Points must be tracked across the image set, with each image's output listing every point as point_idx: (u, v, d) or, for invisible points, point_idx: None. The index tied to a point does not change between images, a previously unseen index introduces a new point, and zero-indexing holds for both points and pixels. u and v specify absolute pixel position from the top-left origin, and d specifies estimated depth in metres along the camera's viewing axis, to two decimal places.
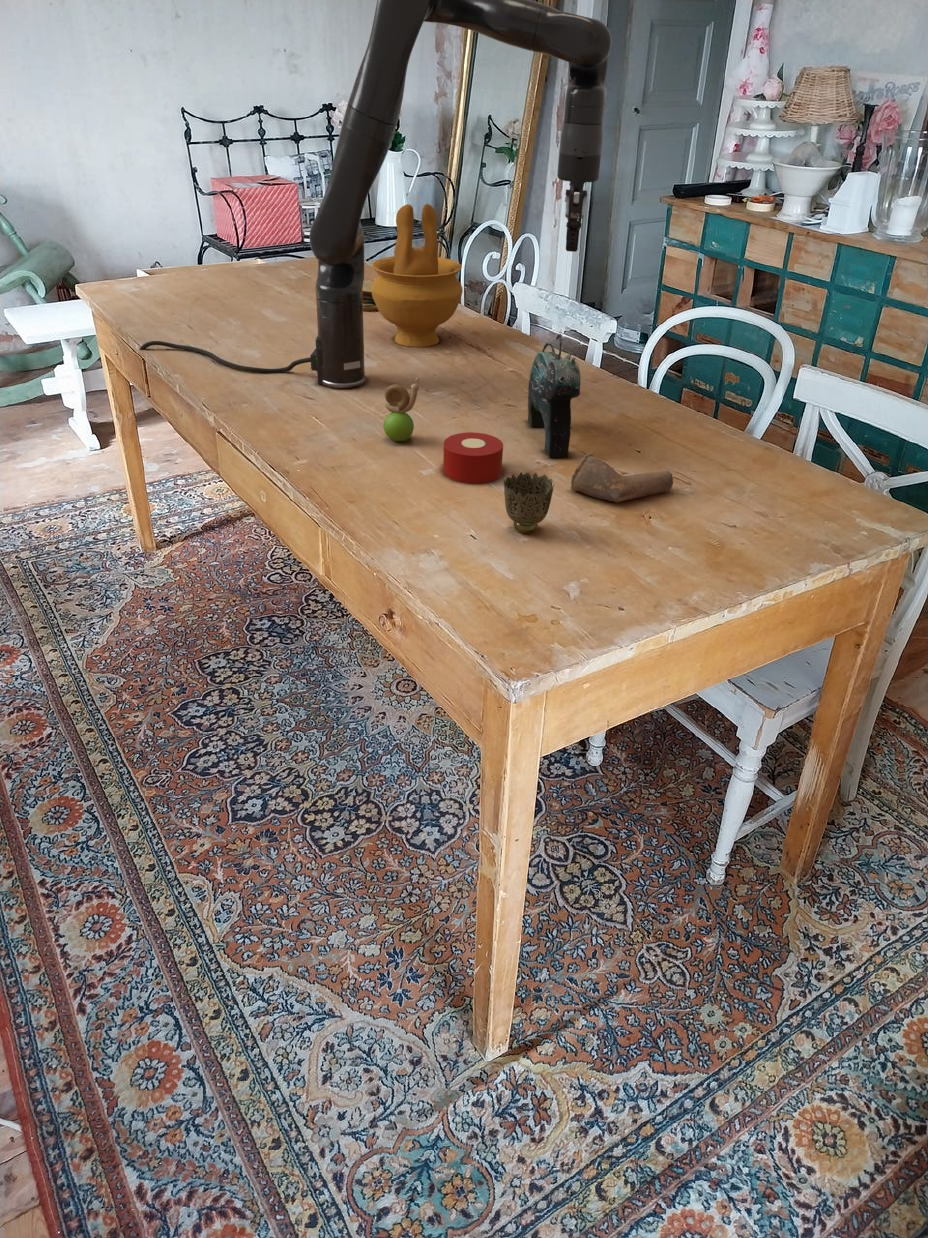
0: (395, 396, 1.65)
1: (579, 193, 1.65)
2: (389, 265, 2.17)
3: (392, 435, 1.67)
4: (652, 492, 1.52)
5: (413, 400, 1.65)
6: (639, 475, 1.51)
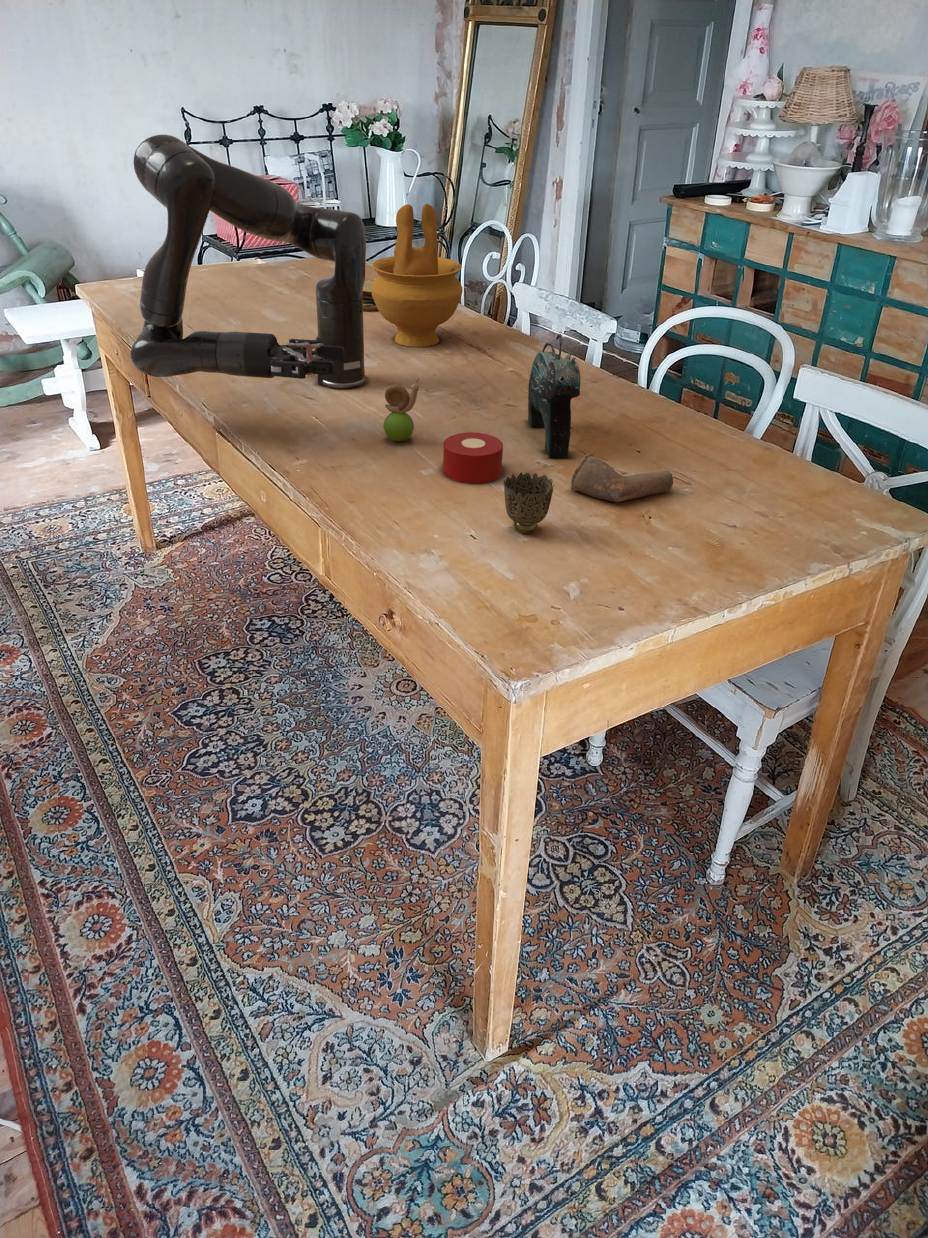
0: (395, 396, 1.65)
1: None
2: (389, 265, 2.17)
3: (392, 435, 1.67)
4: (652, 492, 1.52)
5: (413, 400, 1.65)
6: (639, 475, 1.51)
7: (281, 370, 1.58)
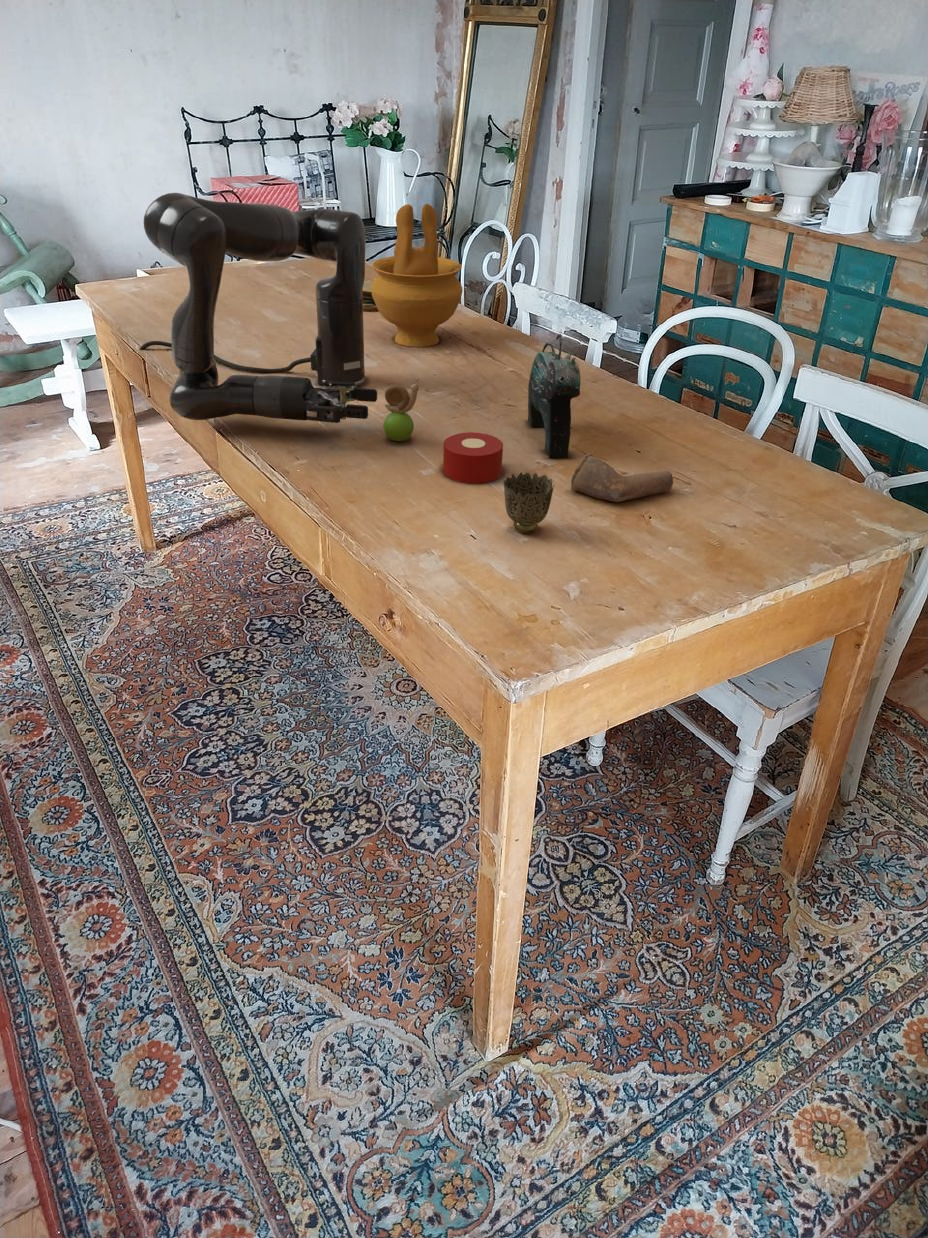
0: (395, 396, 1.65)
1: None
2: (389, 265, 2.17)
3: (392, 435, 1.67)
4: (652, 492, 1.52)
5: (413, 400, 1.65)
6: (639, 475, 1.51)
7: (317, 415, 1.62)
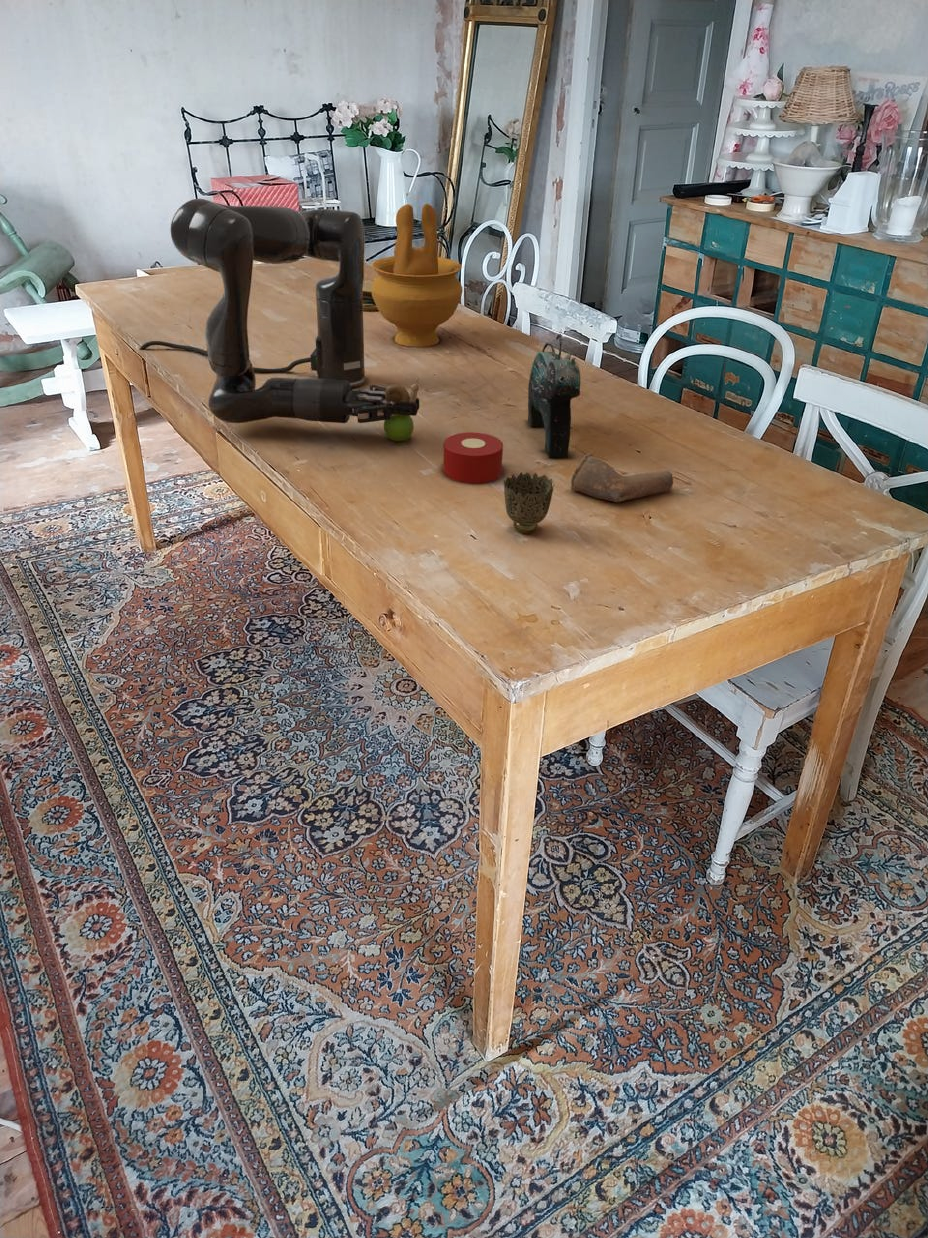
0: (395, 396, 1.65)
1: None
2: (389, 265, 2.17)
3: (392, 435, 1.67)
4: (652, 492, 1.52)
5: (413, 400, 1.65)
6: (639, 475, 1.51)
7: (369, 415, 1.62)
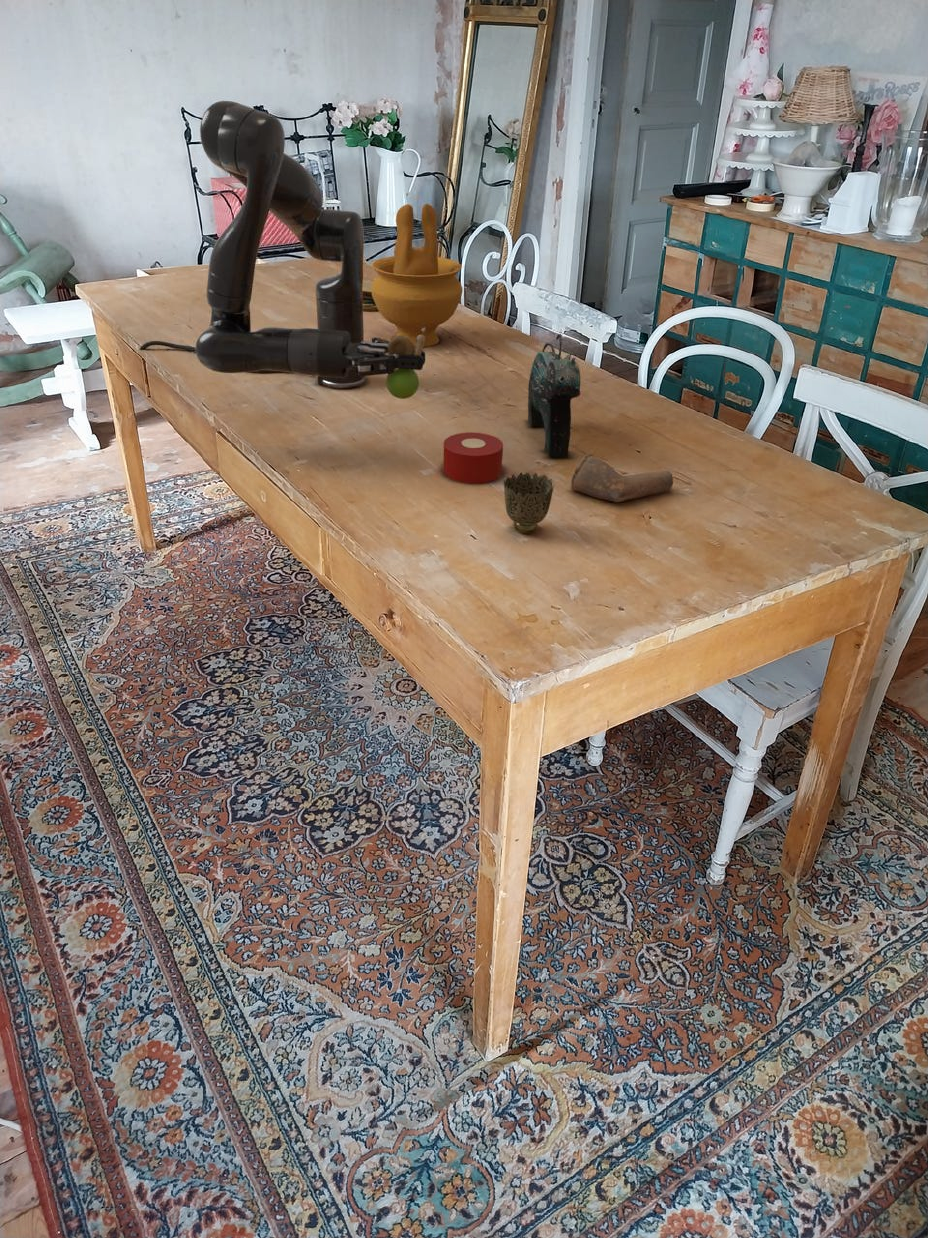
0: (399, 348, 1.52)
1: None
2: (389, 265, 2.17)
3: (395, 391, 1.54)
4: (652, 492, 1.52)
5: (418, 353, 1.52)
6: (639, 475, 1.51)
7: (370, 368, 1.49)
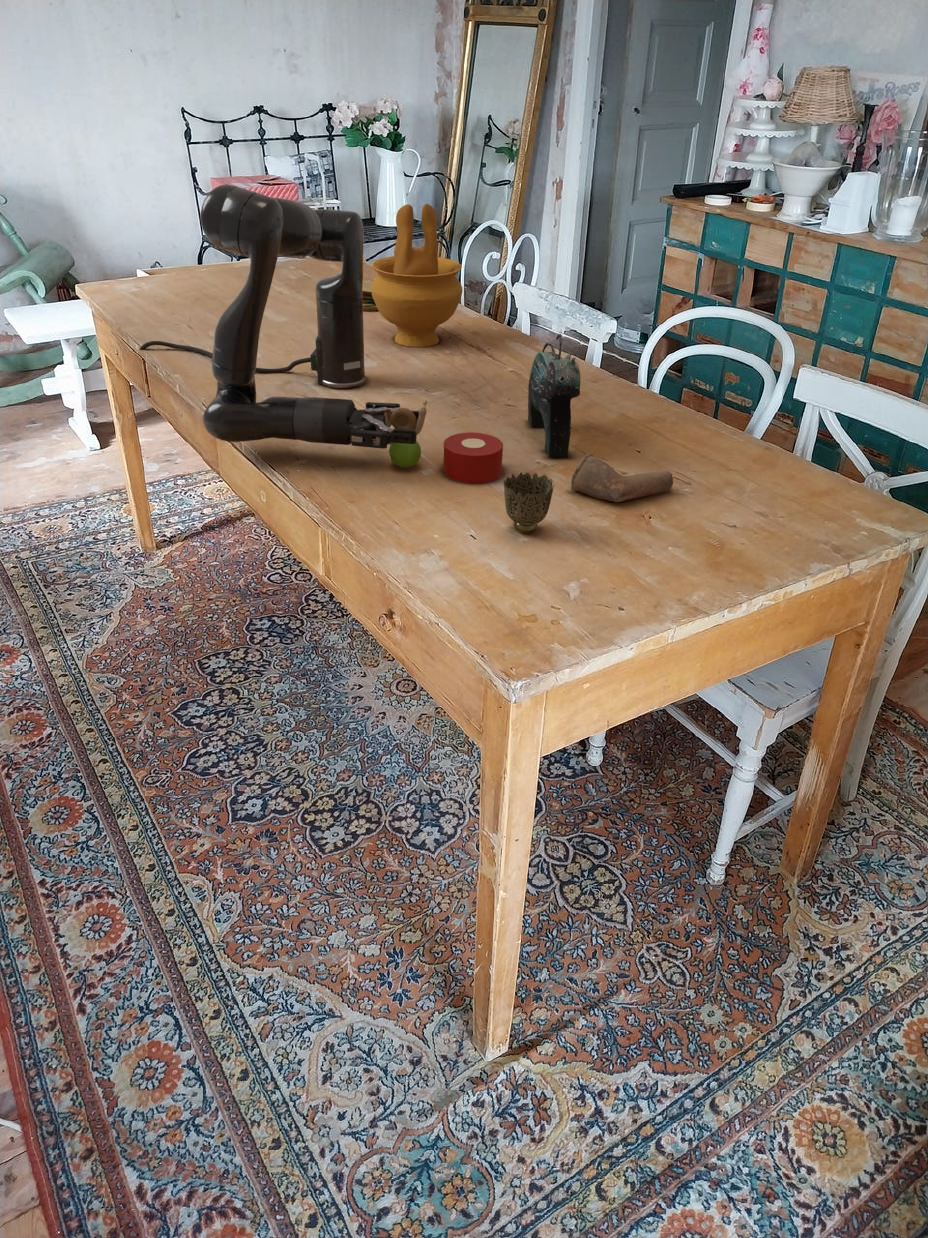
0: (401, 420, 1.56)
1: None
2: (389, 265, 2.17)
3: (398, 461, 1.57)
4: (652, 492, 1.52)
5: (420, 424, 1.55)
6: (639, 475, 1.51)
7: (362, 440, 1.51)
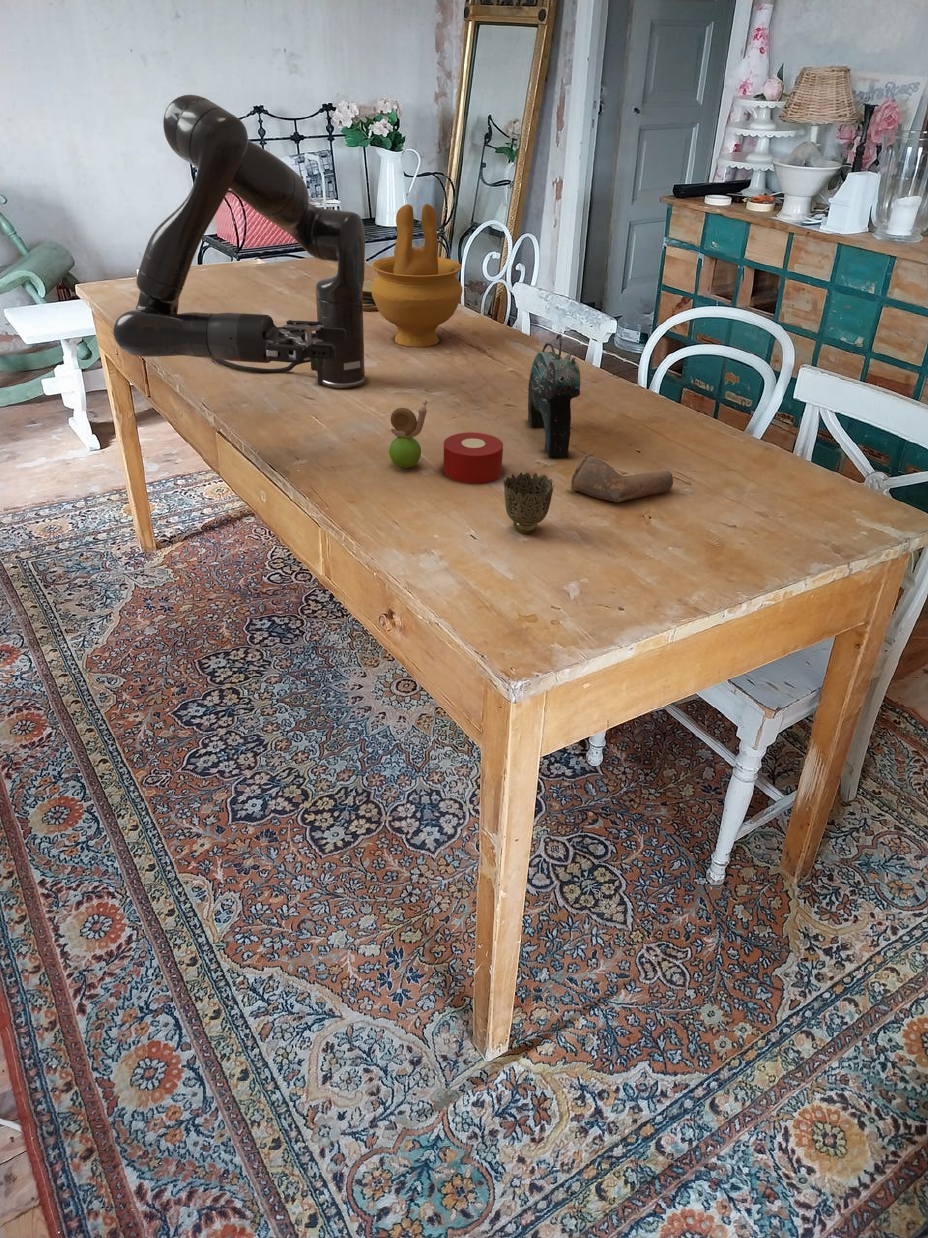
0: (401, 420, 1.56)
1: None
2: (389, 265, 2.17)
3: (398, 461, 1.57)
4: (652, 492, 1.52)
5: (420, 424, 1.55)
6: (639, 475, 1.51)
7: (277, 354, 1.45)
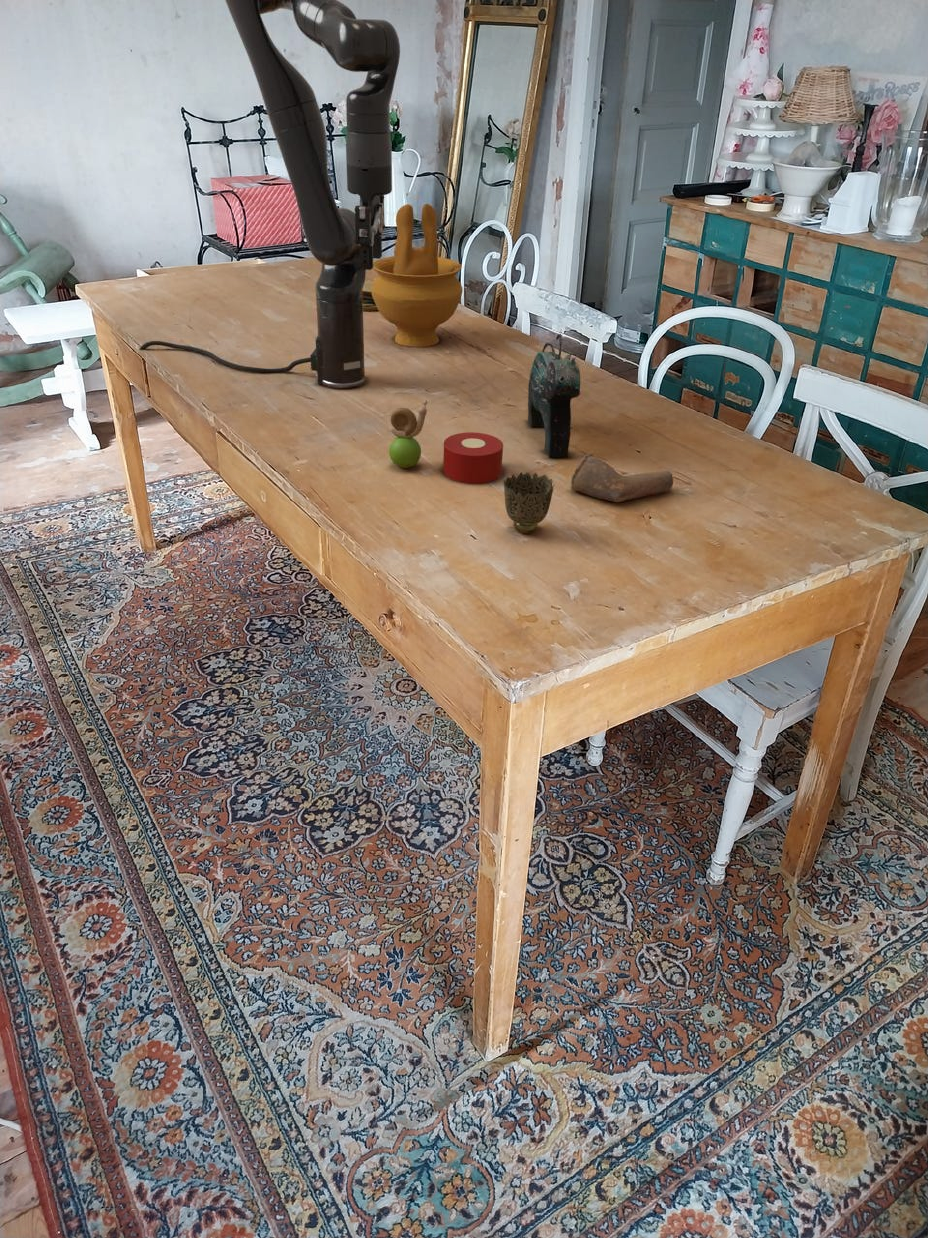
0: (401, 420, 1.56)
1: (365, 207, 1.53)
2: (389, 265, 2.17)
3: (398, 461, 1.57)
4: (652, 492, 1.52)
5: (420, 424, 1.55)
6: (639, 475, 1.51)
7: None
